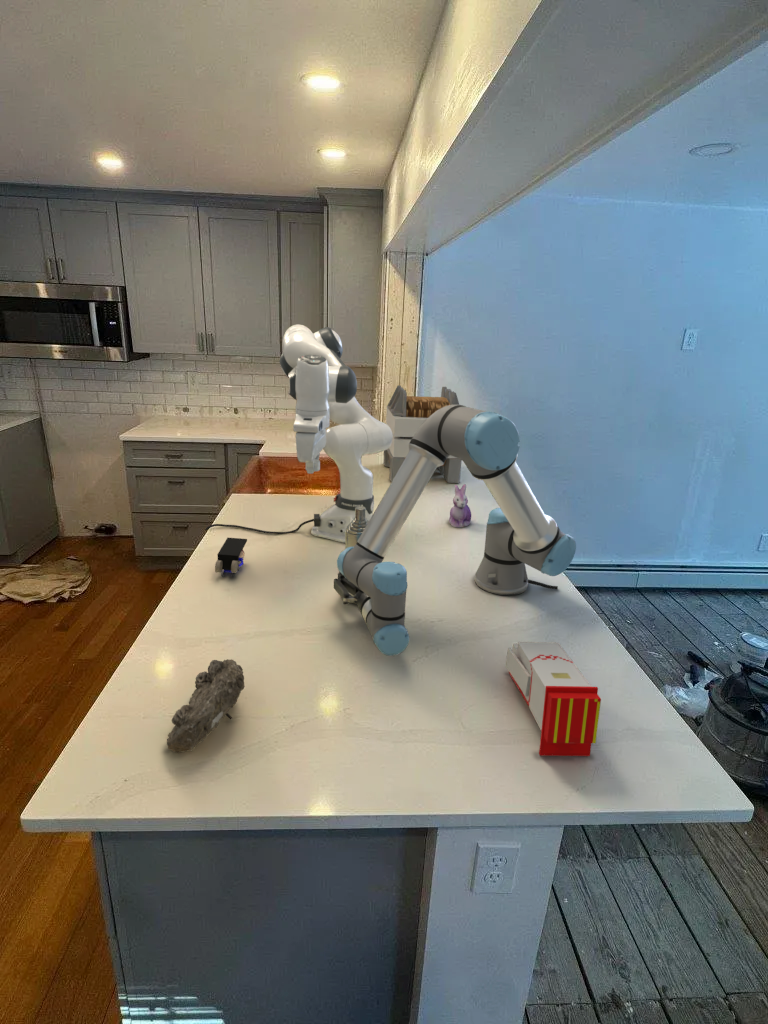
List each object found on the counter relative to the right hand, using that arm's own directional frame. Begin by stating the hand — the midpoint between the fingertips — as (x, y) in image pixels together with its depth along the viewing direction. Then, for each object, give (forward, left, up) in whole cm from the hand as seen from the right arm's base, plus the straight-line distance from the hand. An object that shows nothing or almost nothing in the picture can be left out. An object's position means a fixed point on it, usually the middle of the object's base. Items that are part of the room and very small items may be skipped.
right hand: (355, 568), depth 157 cm
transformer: (-58, -111, -6) cm, 125 cm away
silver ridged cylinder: (0, +5, -6) cm, 8 cm away
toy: (-26, +57, -6) cm, 63 cm away
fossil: (+38, +46, -6) cm, 60 cm away
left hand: (+10, -8, +26) cm, 30 cm away
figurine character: (+33, -19, -6) cm, 38 cm away
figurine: (-50, -43, -6) cm, 67 cm away
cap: (+10, -8, +29) cm, 32 cm away
